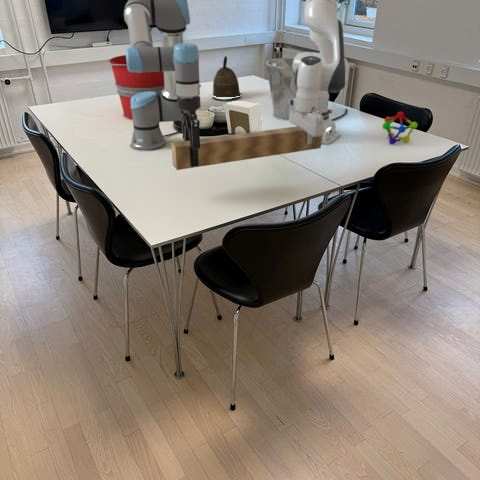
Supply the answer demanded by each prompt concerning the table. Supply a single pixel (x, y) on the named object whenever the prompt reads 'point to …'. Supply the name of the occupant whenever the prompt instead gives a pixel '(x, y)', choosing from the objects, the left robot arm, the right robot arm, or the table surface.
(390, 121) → the educational toy
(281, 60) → the bucket
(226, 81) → the bell
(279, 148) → the beam
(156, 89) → the bucket
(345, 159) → the table surface
